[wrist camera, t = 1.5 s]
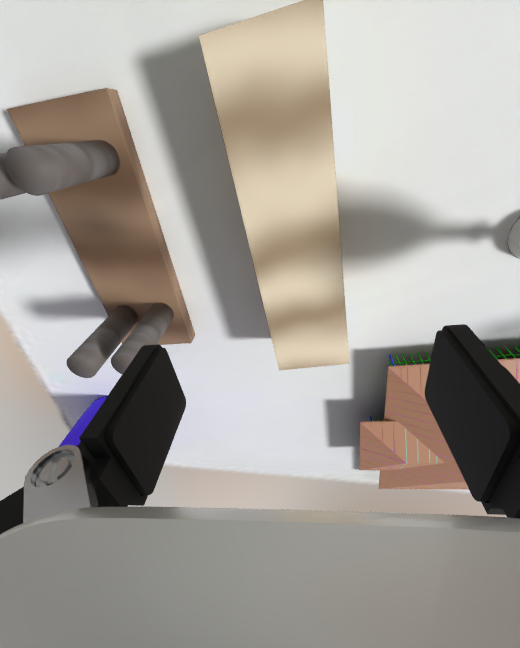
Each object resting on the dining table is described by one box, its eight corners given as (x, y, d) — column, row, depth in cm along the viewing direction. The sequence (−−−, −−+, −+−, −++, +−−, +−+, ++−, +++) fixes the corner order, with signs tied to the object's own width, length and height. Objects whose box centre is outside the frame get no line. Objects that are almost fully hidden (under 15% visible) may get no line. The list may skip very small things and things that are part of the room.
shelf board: (220, 55, 20) (198, 35, 16) (315, 24, 19) (322, -7, 15) (281, 336, 33) (279, 370, 29) (341, 329, 32) (349, 363, 27)
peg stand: (22, 109, 23) (-119, 102, 15) (116, 90, 22) (16, 71, 14) (129, 338, 35) (82, 401, 27) (195, 334, 34) (164, 398, 26)
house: (354, 348, 33) (369, 406, 26) (726, 321, 27) (866, 386, 21) (354, 466, 45) (365, 526, 39) (612, 465, 40) (677, 534, 33)
